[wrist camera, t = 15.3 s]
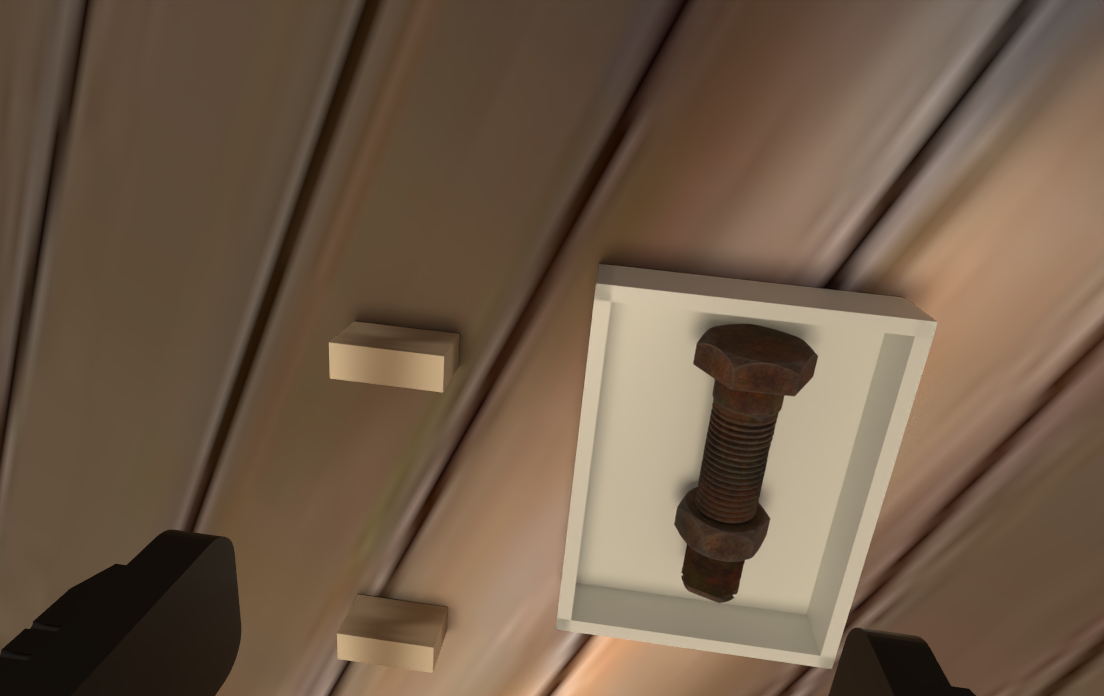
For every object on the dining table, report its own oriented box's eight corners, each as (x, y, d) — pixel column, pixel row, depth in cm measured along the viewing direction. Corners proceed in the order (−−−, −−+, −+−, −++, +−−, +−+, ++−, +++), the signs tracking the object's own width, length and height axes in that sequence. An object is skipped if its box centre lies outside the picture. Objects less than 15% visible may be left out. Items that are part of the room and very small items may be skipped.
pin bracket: (459, 333, 38) (444, 356, 35) (446, 631, 45) (432, 672, 42) (354, 321, 38) (328, 342, 35) (358, 618, 46) (337, 658, 42)
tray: (904, 297, 35) (938, 322, 31) (813, 617, 42) (831, 669, 38) (598, 263, 36) (596, 283, 32) (561, 582, 43) (556, 629, 39)
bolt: (689, 542, 42) (732, 313, 36) (769, 579, 40) (828, 339, 34) (644, 594, 38) (684, 343, 32) (730, 640, 35) (791, 376, 29)
